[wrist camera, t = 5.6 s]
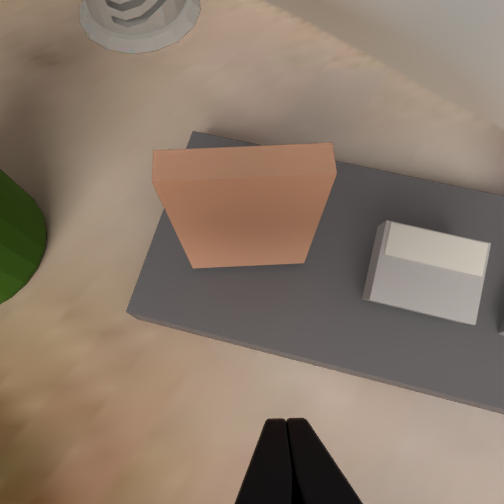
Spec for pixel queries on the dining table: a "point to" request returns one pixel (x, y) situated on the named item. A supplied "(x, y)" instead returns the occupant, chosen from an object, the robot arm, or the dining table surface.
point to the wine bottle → (18, 237)
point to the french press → (137, 23)
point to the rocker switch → (427, 272)
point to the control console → (344, 290)
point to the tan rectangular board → (245, 201)
